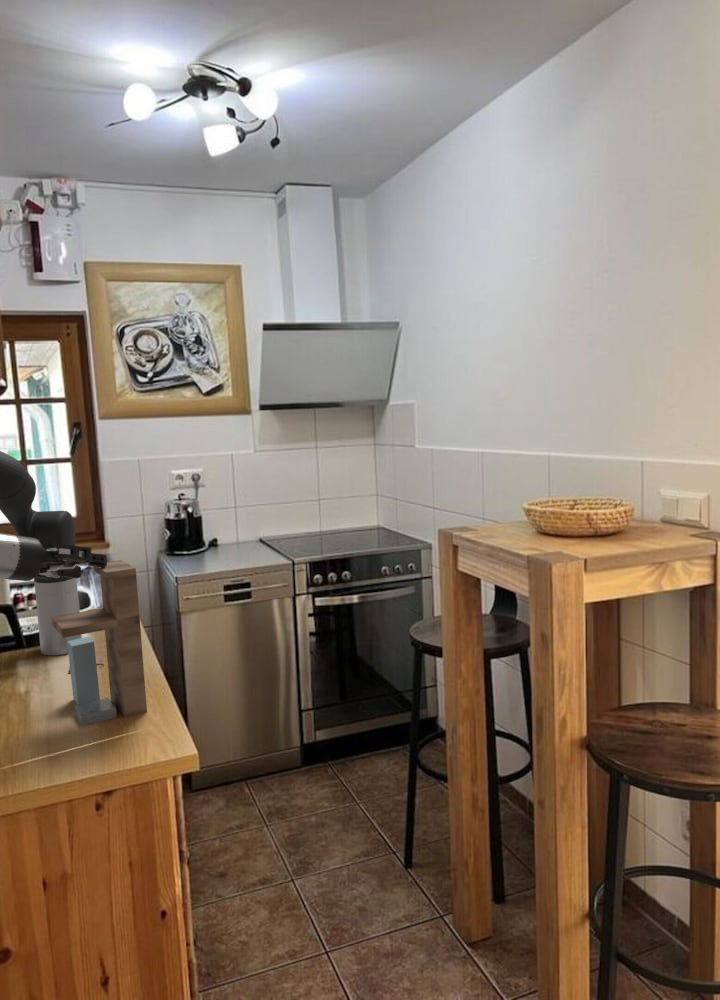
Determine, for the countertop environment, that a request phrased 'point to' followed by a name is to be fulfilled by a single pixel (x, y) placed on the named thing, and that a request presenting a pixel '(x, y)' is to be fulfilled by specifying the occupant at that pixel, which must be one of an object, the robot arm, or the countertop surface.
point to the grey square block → (95, 711)
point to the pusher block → (83, 670)
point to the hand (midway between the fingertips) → (92, 567)
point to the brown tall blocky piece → (115, 634)
